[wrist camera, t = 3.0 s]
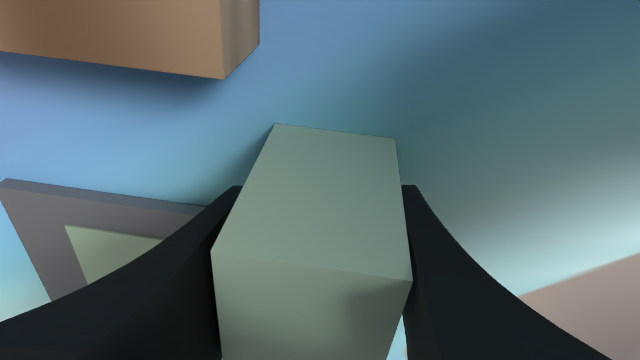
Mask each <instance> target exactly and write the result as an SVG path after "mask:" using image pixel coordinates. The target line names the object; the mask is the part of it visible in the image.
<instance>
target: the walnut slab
mask: <svg viewBox="0 0 640 360" xmlns="http://www.w3.org/2000/svg"><path fill="white" fill-rule="evenodd" d="M258 45H259V0H0V51H5V52H13V53H21V54H28V55H36V56H44V57H52V58H60V59H67V60H75V61H83V62H91V63H99V64H106V65H114V66H122V67H130V68H138V69H145V70H153V71H161V72H169V73H177V74H184V75H192V76H200V77H208V78H216V79H223V80H224V79H225V78H226V77H227V76H228V75H229V74H230V73H231V72H232V71H233V70H234V69H235V68H236V67H237V66H238V65H239V64H240V63H241V62H242V61H243V60H244V59H245V58H246V57H247V56H248V55H249V54H250V53H251V52H252V51H253V50H254V49H255V48H256V47H257V46H258Z"/></svg>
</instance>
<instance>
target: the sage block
mask: <svg viewBox="0 0 640 360" xmlns="http://www.w3.org/2000/svg"><path fill="white" fill-rule="evenodd" d="M210 252H211V261H212V270H213V279H214V288H215V297H216V305H217V314H218V323H219V332H220V341H221V350H222V359H223V360H386V358H387V355H388V353H389V350H390V347H391V344H392V341H393V338H394V335H395V332H396V329H397V326H398V323H399V320H400V318H401V315H402V312H403V309H404V306H405V303H406V300H407V297H408V294H409V291H410V288H411V286H412V283H413V277H412V269H411V261H410V253H409V245H408V238H407V230H406V222H405V214H404V206H403V198H402V190H401V182H400V174H399V166H398V158H397V150H396V142H395V139H393V138H386V137H378V136H370V135H363V134H355V133H347V132H340V131H332V130H324V129H317V128H309V127H301V126H293V125H286V124H278V123H275V124H274V126H273V128H272V130H271V132H270V134H269V136H268V138H267V140H266V142H265V144H264V146H263V148H262V150H261V152H260V154H259V156H258V158H257V160H256V162H255V164H254V166H253V168H252V170H251V172H250V174H249V176H248V178H247V180H246V182H245V184H244V186H243V188H242V190H241V192H240V194H239V196H238V198H237V200H236V202H235V204H234V206H233V208H232V210H231V212H230V214H229V216H228V218H227V220H226V222H225V224H224V225H223V227H222V229H221V231H220V233H219V235H218V237H217V239H216V241H215V243H214V245H213V247H212V249H211V251H210Z"/></svg>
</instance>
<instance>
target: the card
mask: <svg viewBox="0 0 640 360" xmlns="http://www.w3.org/2000/svg"><path fill="white" fill-rule="evenodd" d="M0 200H1V202H2V204H3V206H4V208H5V210H6V212H7V214H8V216H9V218H10V220H11V222H12V224H13V226H14V228H15V230H16V232H17V234H18V236H19V238H20V240H21V242H22V244H23V246H24V248H25V250H26V252H27V254H28V256H29V258H30V260H31V262H32V263H33V265H34V267H35V269H36V271H37V273H38V275H39V277H40V279H41V281H42V283H43V285H44V287H45V289H46V291H47V293H48V295H49V297H50V299H51V301H54V300H56V299H59V298H61V297H63V296H65V295H67V294H70V293H72V292H74V291H76V290H78V289H80V288H82V287H84V286H87V285H89V284H91V283H93V282H95V281H96V280H98V279H100V278H102V277H104V276H106V275H107V274H109V273H111V272H113V271H115V270H117V269H119V268H120V267H122V266H124V265H126V264H128V263H129V262H131V261H133V260H134V259H136V258H137V257H139V256H141V255H142V254H144V253H145V252H147V251H149V250H150V249H152V248H153V247H155V246H156V245H158V244H159V243H160V242H162V241H163V240H165V239H166V238H167V237H169V236H170V235H171V234H173V233H174V232H175V231H177V230H178V229H179V228H181V227H182V226H183V225H185V224H186V223H187V222H189V221H190V220H191V219H192V218H194V217H195V216H196V215H197V214H199V213H200V212H201V211H202V210H204V209H205V208H206V207H204V206H197V205H190V204H183V203H176V202H169V201H162V200H155V199H148V198H141V197H134V196H127V195H120V194H112V193H105V192H98V191H91V190H84V189H77V188H70V187H63V186H56V185H49V184H42V183H35V182H28V181H21V180H14V179H7V178H6V179H5V180H3V181H2V182H0Z"/></svg>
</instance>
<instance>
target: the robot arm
mask: <svg viewBox="0 0 640 360" xmlns="http://www.w3.org/2000/svg"><path fill="white" fill-rule="evenodd" d="M242 188H243V186H232V187H231V188H229V189H228V190H227V191H225V192H224V193H223V194H222V195H220V196H219V197H218V198H217V199H216V200H214V201H213V202H212V203H211V204H210V205H208V206H207V207H206V208H205V209H204V210H202V211H201V212H200V213H199V214H197V215H196V216H195V217H194V218H192V219H191V220H190V221H189V222H187V223H186V224H185V225H183V226H182V227H181V228H179V229H178V230H177V231H175V232H174V233H173V234H171V235H170V236H169V237H167V238H166V239H165V240H163V241H162V242H160V243H159V244H158V245H156V246H155V247H153V248H152V249H150V250H149V251H147V252H145V253H144V254H142V255H141V256H139V257H137V258H136V259H134V260H133V261H131V262H129V263H128V264H126V265H124V266H122V267H120V268H119V269H117V270H115V271H113V272H111V273H109V274H107V275H106V276H104V277H102V278H100V279H98V280H96V281H95V282H93V283H91V284H89V285H87V286H84V287H82V288H80V289H78V290H76V291H74V292H72V293H70V294H67V295H65V296H63V297H61V298H59V299H56V300H54V301H52V302H50V303H47V304H45V305H42V306H40V307H38V308H35V309H32V310H30V311H27V312H25V313H22V314H20V315H17V316H15V317H12V318H9V319H7V320H4V321H2V322H0V360H222V350H221V341H220V332H219V323H218V314H217V305H216V297H215V288H214V279H213V270H212V261H211V252H210V251H211V249H212V247H213V245H214V243H215V241H216V239H217V237H218V235H219V233H220V231H221V229H222V227H223V225H224V224H225V222H226V220H227V218H228V216H229V214H230V212H231V210H232V208H233V206H234V204H235V202H236V200H237V198H238V196H239V194H240V192H241V190H242ZM401 190H402V198H403V206H404V214H405V222H406V230H407V238H408V245H409V253H410V261H411V269H412V277H413V283H412V286H411V288H410V291H409V294H408V297H407V300H406V303H405V306H404V309H403V312H402V315H403V321H404V327H405V335H406V343H407V357H408V360H612V359H610V358H608V357H607V356H605V355H603V354H602V353H600V352H598V351H597V350H595V349H593V348H592V347H590V346H588V345H587V344H585V343H584V342H582V341H580V340H579V339H577V338H575V337H573V336H572V335H570V334H569V333H567V332H565V331H564V330H562V329H561V328H559V327H557V326H556V325H555V324H553V323H552V322H550V321H549V320H547V319H546V318H545V317H543V316H541V315H540V314H539V313H537V312H536V311H534V310H533V309H532V308H530V307H529V306H528V305H526V304H525V303H524V302H522V301H521V300H520V299H519V298H517V297H516V296H515V295H513V294H512V293H511V292H510V291H508V290H507V289H506V288H505V287H503V286H502V285H501V284H500V283H498V282H497V281H496V280H495V279H494V278H493V277H492V276H490V275H489V274H488V273H487V272H486V271H485V270H484V269H483V268H482V267H481V266H480V265H479V264H478V263H477V262H476V261H475V260H474V259H473V258H472V257H471V256H470V255H469V254H468V253H467V252H466V251H465V250H464V249H463V248H462V247H461V246H460V245H459V243H458V242H457V241H456V240H455V239H454V238H453V237H452V235H451V234H450V233H449V232H448V231H447V229H446V228H445V227H444V225H443V224H442V223H441V222H440V220H439V219H438V218H437V216H436V215H435V214H434V212H433V211H432V209H431V208H430V207H429V205H428V204H427V202H426V201H425V199H424V197H423V196H422V194H421V193H420V191H419V189H418V188H417V187H416V186H415V185H401Z"/></svg>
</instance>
